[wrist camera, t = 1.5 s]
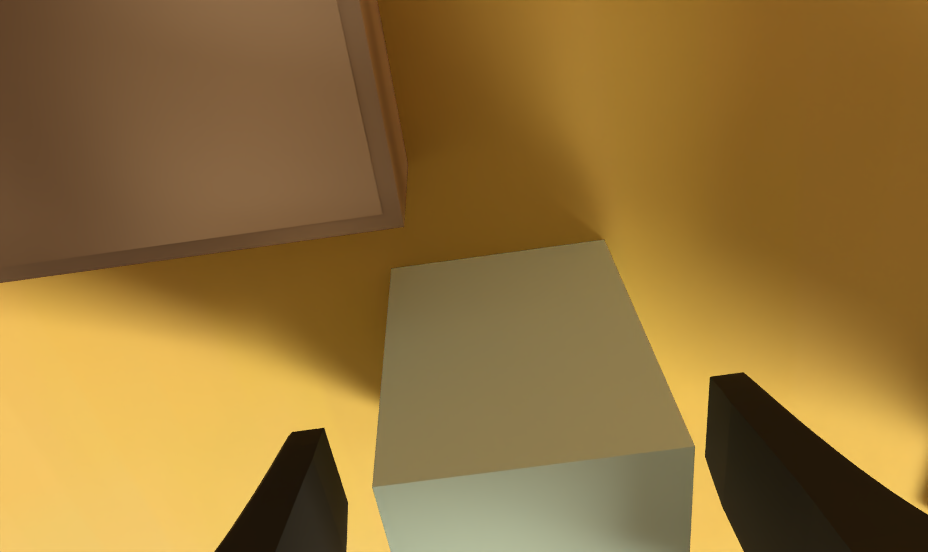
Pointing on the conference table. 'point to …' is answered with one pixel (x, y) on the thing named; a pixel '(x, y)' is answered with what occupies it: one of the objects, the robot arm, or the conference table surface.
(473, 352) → the sage block
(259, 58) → the walnut box
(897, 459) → the conference table surface
